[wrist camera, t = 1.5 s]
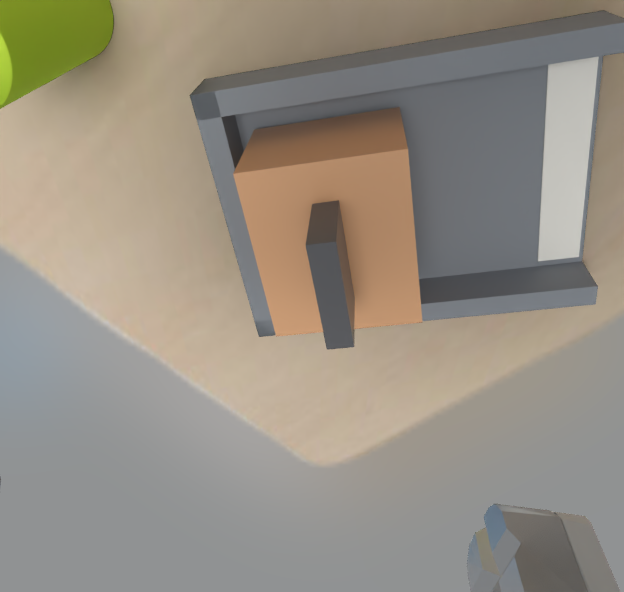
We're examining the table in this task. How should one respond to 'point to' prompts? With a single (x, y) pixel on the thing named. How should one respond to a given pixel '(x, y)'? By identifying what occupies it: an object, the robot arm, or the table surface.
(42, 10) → the soap dispenser
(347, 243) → the tan block with handle
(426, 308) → the bay
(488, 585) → the robot arm
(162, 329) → the table surface
